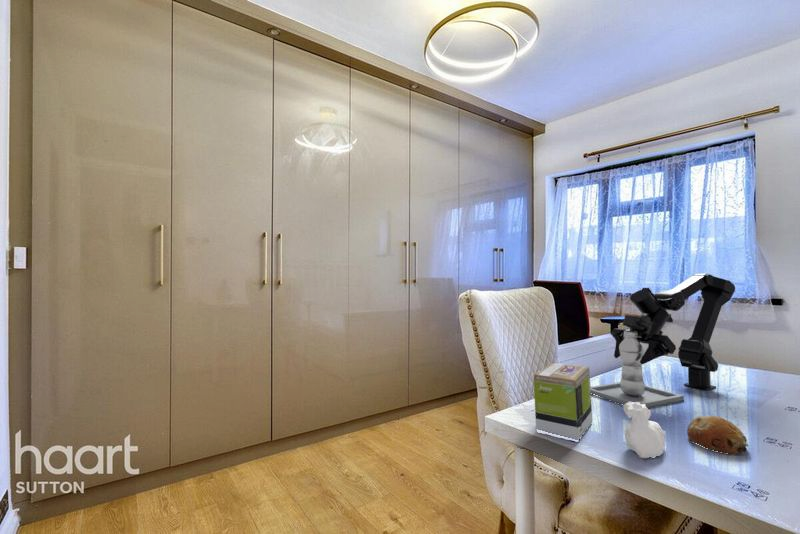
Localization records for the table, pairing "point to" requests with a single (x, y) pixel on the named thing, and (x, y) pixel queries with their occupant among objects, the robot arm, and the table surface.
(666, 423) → the table surface
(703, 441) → the bread roll
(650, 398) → the tray
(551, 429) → the tea box
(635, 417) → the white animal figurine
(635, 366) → the plastic bottle
